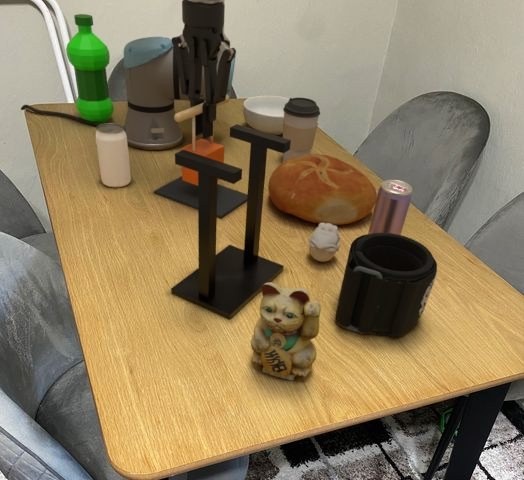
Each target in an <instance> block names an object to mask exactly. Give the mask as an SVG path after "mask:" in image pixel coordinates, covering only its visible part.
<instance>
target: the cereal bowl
mask: <svg viewBox="0 0 524 480" xmlns="http://www.w3.org/2000/svg"><path fill="white" fill-rule="evenodd" d="M289 99H290V97H289V98H288V97H285V96H278V95H256V96H252V97H249V98H247V99H245V100H244V101H243V104H242V105H243V106H242V111H243V117H244V120H245V123H247V124H248V125H249V126H250V128H252V129H255V130H258V131H261V132H265V133H268V134H271V135H275V136H282V135H283V119H284V111H283V108H284V107H285V104H286V103H288V101H289Z"/></svg>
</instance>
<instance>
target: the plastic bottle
mask: <svg viewBox="0 0 524 480" xmlns="http://www.w3.org/2000/svg"><path fill="white" fill-rule="evenodd" d="M73 16H74V24H75V25H76V26H77V28H78V29H77V30H78V31H77V33H76V34H74V36H73V37H72V38H71V39H70V40H69V41H68V43H66V44H67V45H66V49H65V51H66V56H67V59H68V60H67V61H68V62H69V63H70V65H71V66H73V70H74V77H75V83H76V90H77V97H76V102H75V108H76V110H77V112H78V114H79V115H80V118H82V119H85V120H88V121H91V122H97V123H101V124H105V123H108V120H109V119H110V118H111V117H112V115H113V114H114V110H115V106H114V103H113V100H112V99H111V98H110V95H109V85H108V77H107V66H108V65H109V64H110V58H111V55H110V50H109V48H108V46H107V44H105V42H103V41H102V39H100V38H99V37H98V36H97V35H96V34H95V33H94V32H93V30H92V29H93V28H92V26H94V19H93V15H91V14H85V13H78V14H74V15H73Z"/></svg>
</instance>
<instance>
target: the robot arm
mask: <svg viewBox="0 0 524 480" xmlns="http://www.w3.org/2000/svg"><path fill="white" fill-rule="evenodd" d="M225 2H226V1H225V0H181V16H182V17H181V21H182V23H183V24H184V26H183V29H182V34H180V35H178V36H174V37H172V38H170V37H163V36H148V37H140V38H137V39H133V40H131V41H129V42H127V43H126V44H125V45H124V48H123V64H122V65H123V68H124V77H125V88H126V99H127V100H126V101H127V112H126V116H125V122H124V125H122V126H123V127H124V131H125V133H126V136H127V144H128V146H130V147H132V148H135V149H138V150H145V151H165V150H170V149H174V148H176V147H179V146H180V145H181V144H182V143H183V131H182V127H180V122H176V121H175V119H174V116H175V114H176V113H177V112H176V109H175V101H189V108H191V107H194V106H196V105H199V104H202V103H204V104H202V109H203V111H202V113H201V114H198V115H196V116H195V137H198V136H199V135H202V137H201V139H204V140H207V139H209V138H211V136H213V137H214V131H213V121H216V120H217V107H216V106H217V104H218V103H221V102H223V101H225V100H226V95H228V96H229V98H230V97H231V92H232V85H233V79H234V72H235V66H236V56H237V49H236V48H235V47H231V41H230V39H229V38H228V37H227V35H226V34H225V11H226V10H225ZM26 109H28V110H30V111H31V112H33V113H36V114H41V115H46V116H47V115H49V116H58V117H64V118H68V119H72V120H74V121H77V122H81V123H85V124H88V125H90V126H91V125H92V126H94V127H97V126H98V125H101V123H97V122H91V121H88V120H85V119H83V118H82V117H79V116H76V115H73V114H70V113H65V112H59V111H52V110H51V111H50V110H42V109H37V108H35V107H33V106H32V105H29V104H24V105H22V106H21V107H20V111H25V110H26Z"/></svg>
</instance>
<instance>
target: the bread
mask: <svg viewBox="0 0 524 480" xmlns="http://www.w3.org/2000/svg"><path fill="white" fill-rule="evenodd" d="M267 185H268V188H267V189H268V195H269V197H270V199H271V202H272V203H273V205H274V206H275V207H276V208H277V209H278V210H280V211H281V212H283V213H284V214H289V215H293V216H295V217H296V218H299V219H301V220H303V221H307V222H310V223H314V224H318V225H319V224H320V223H325V224H326V223H330V224H332V225H333V226H340V225H341V226H342V225H348V224H351V223H355V222H358V221H359V220H362V219H364V218H365V217H367V216H368V215H369V214H370V213H371V212H373V210H374V207H375V203H376V199H377V195H378V193H377V190H376V187H375V186H374V185H373V183H372V182H371V180H370V179H369V178H368V177H367V175H365V174H364V173H363V172H362V171H361V170H359V169H357V168H356V167H355V166H353V165H352V164H349V163H347V162H345V161H343V160H341V159H339V158H337V157H334V156H330V155H327V154H316V153H315V154H314V153H313V154H311V153H310V155H304V156H300V157H297V158H290V159H288V160H286V161H284V162H283V161H282V162H281V163H280V164H279V165H278V166H277V167H276V168H275V169H274V170H273V171H272V173H271V175H270V176H269V180H268V184H267Z"/></svg>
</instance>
